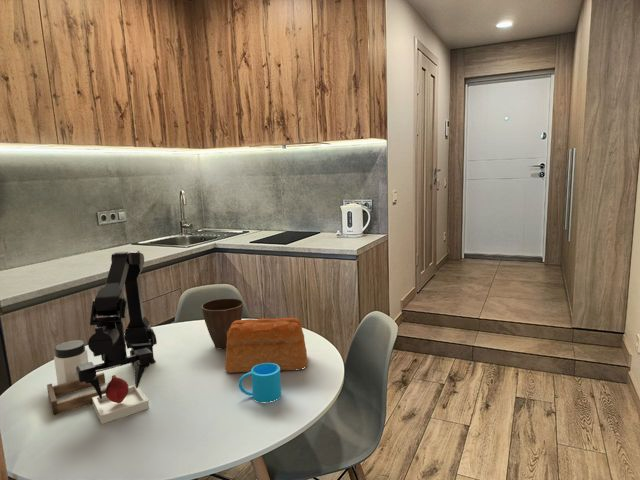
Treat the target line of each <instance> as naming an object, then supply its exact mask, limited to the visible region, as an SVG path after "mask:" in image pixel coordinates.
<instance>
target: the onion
mask: <svg viewBox="0 0 640 480" xmlns="http://www.w3.org/2000/svg"><path fill="white" fill-rule="evenodd" d="M128 387H129V384H128V383H127V381H126V380H125V379H123V378H120V377H117V375H115V374H112V376H111V380H110V381H109V382H108V383H107V385H106V387H105V388H106V396H107V398H108V399H109V400H111V401H112V402H116V403H121V402H122V401H123V400H124V398H125V397H126V396H127V394H128V389H129V388H128Z"/></svg>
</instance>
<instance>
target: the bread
mask: <svg viewBox="0 0 640 480" xmlns="http://www.w3.org/2000/svg"><path fill="white" fill-rule="evenodd" d="M306 347H307V346H306V342H305V335H304V332H303V324H302V322H301V320H300V319H299V318H296V317H280V318H257V319H253V318H251V319H247V318H246V319H242V320H236V321H234V322H233V323H232V325H231V327H230V329H229V330H228V332H227V348H226V349H225V351H226V352H225V363H224V364H225V366H224V371H225V370H226V371H227V372H228V373H249V372H251V369H252V368H253V367H254V366H256V365H258V364H262V363H274V364H277V365H278V366H279V367H280V372H281V370H283V371H297V370H296V369H302V368H304V367H306V366H307V367H308V357H307V356H308V355H307V348H306ZM307 367H306V368H307ZM226 371H225V372H226ZM227 372H226V373H227Z"/></svg>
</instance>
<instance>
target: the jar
mask: <svg viewBox="0 0 640 480" xmlns="http://www.w3.org/2000/svg"><path fill="white" fill-rule="evenodd" d="M54 354H55V355H54V356H53V359H54V365H55V366H54V367H55V375H56V384H57V385H60V384H64V383H67V382H71V381H75V380H78V377H77V374H76V367H77V366H78V365H80V364H84V363H88V362H89V355H88V350H87V349H86V345H85V341H84V340H79V339H78V340H77V339H74V340H69V341H65V342H62V343H59V344H58V345H56V346H55V347H54Z"/></svg>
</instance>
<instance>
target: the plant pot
mask: <svg viewBox="0 0 640 480" xmlns="http://www.w3.org/2000/svg"><path fill="white" fill-rule="evenodd" d="M243 306H244V302H243V300H241V299H240V298H239V299H238V298H218V299H217V298H216V299H212V300H209V301H207V302H204V303H202V305H201V310H202V315H203V320H204V323H205V325H206V328H207V331H208V333H209V336H210V339H211V341H212V343H213V345H214V347H215V348H216V349H219V350H226V348H227V332H228V330H229V329H230V327H231V325H232V323H233V322H234V321H236V320H243V312H244V311H243V310H244V309H243V308H244V307H243Z"/></svg>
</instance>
